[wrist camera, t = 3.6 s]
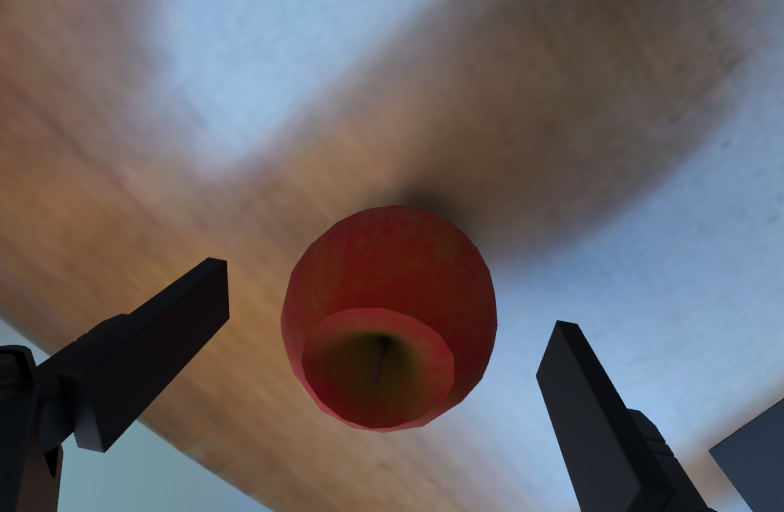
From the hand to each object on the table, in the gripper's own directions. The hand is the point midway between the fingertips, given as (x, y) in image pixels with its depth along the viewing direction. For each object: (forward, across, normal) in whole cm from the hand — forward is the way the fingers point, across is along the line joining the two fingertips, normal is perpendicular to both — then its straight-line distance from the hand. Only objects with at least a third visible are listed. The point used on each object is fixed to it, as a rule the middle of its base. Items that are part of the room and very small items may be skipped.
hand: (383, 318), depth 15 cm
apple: (+7, 0, 0) cm, 7 cm away
